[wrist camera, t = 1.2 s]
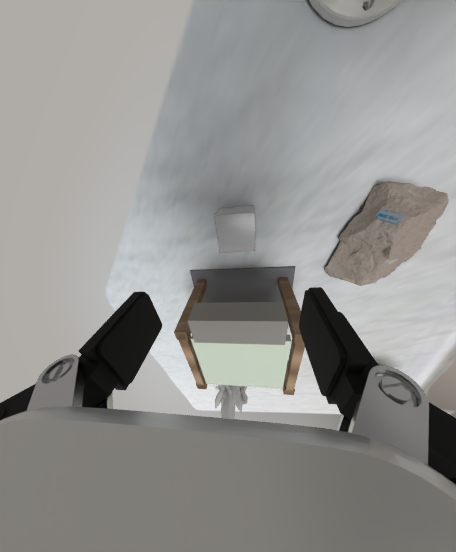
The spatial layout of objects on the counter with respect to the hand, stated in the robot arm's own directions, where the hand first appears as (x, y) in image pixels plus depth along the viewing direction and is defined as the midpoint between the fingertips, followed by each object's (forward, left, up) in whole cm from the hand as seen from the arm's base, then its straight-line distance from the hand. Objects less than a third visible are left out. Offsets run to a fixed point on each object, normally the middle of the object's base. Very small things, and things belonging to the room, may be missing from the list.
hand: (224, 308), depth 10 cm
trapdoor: (+15, 0, -8) cm, 17 cm away
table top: (+18, 0, -18) cm, 26 cm away
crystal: (+52, -5, -19) cm, 55 cm away
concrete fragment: (+3, +19, -19) cm, 27 cm away
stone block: (0, 0, -19) cm, 19 cm away
